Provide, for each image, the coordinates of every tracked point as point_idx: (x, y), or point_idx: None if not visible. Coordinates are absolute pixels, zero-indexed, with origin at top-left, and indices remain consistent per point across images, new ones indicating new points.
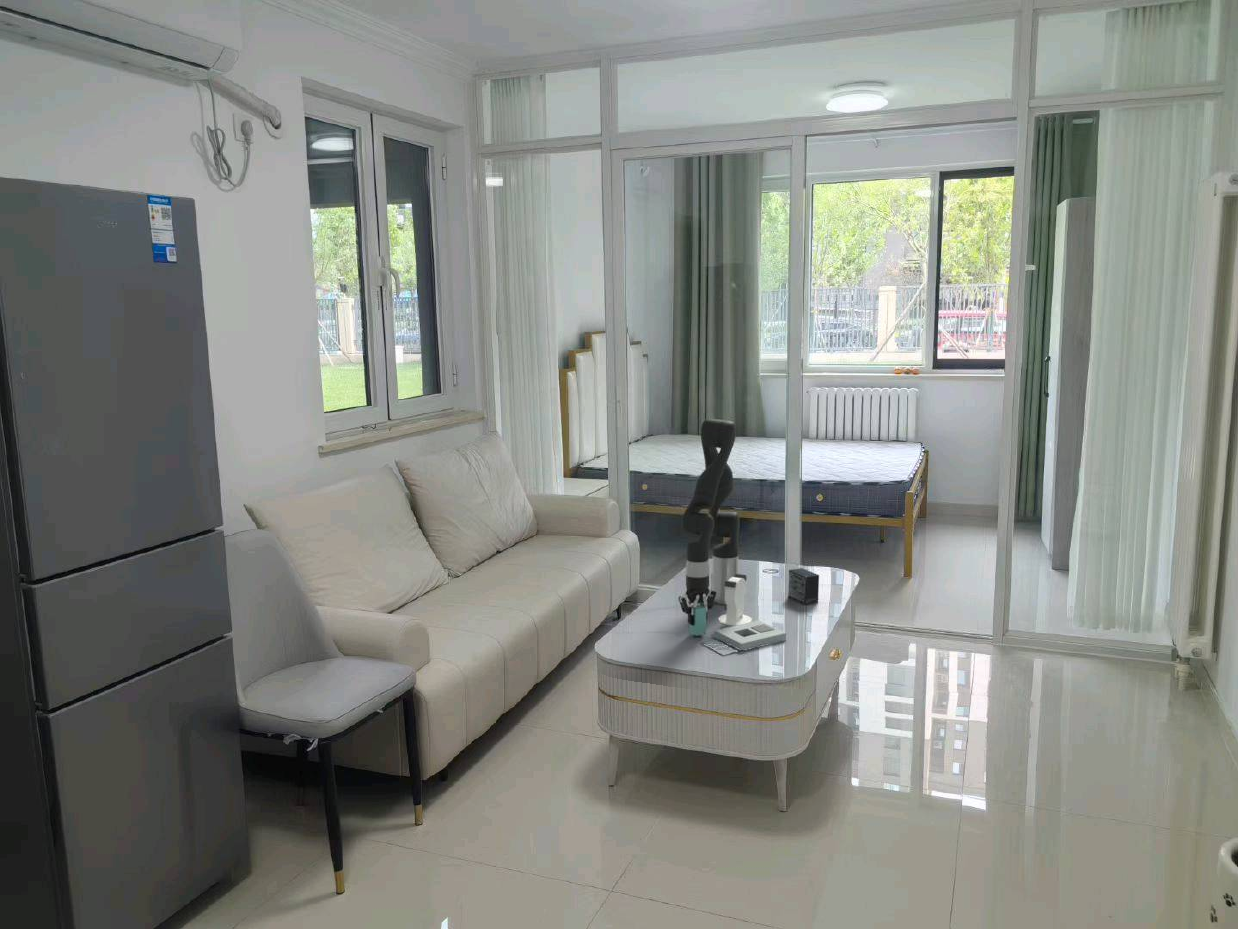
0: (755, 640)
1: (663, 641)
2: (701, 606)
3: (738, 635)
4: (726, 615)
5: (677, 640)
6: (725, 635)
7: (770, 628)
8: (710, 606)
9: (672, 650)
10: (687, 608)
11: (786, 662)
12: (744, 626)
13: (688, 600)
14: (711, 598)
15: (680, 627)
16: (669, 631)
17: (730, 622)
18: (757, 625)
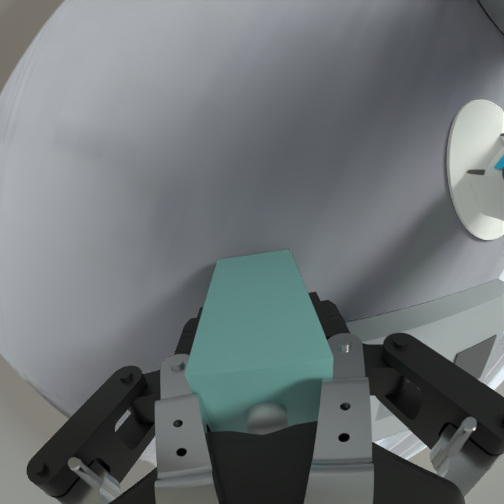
0: (380, 439)
1: (83, 276)
2: (304, 419)
3: (371, 410)
4: (486, 176)
5: (141, 291)
6: None
7: (478, 372)
8: (387, 399)
9: (103, 364)
10: (137, 445)
11: None
12: (454, 337)
13: (156, 442)
14: (429, 442)
15: (228, 118)
16: (143, 157)
17: (471, 193)
18: (482, 337)
